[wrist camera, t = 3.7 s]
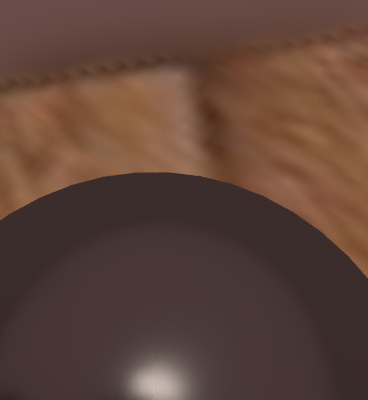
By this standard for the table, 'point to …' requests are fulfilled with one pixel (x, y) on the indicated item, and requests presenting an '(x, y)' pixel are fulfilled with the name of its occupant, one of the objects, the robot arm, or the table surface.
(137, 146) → the table surface
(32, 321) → the dark glossy cylinder
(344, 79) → the table surface
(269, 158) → the table surface
